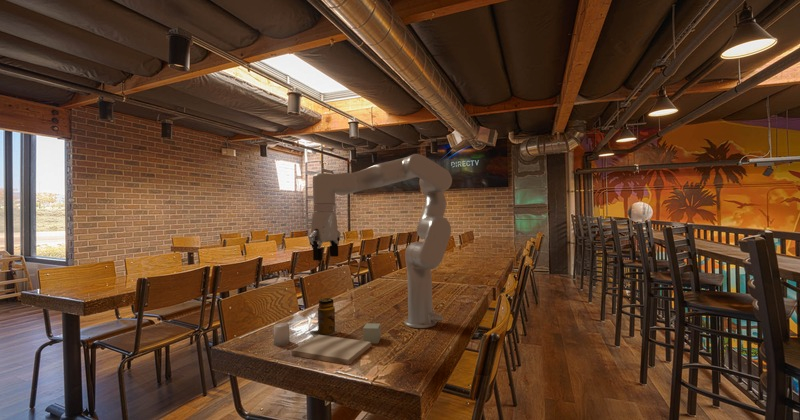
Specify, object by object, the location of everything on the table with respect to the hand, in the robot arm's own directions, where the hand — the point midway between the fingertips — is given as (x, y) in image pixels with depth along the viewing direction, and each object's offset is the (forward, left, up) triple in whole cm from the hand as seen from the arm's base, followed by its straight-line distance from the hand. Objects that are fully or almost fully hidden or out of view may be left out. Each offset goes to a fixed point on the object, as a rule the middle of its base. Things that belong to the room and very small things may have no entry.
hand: (326, 258), depth 116 cm
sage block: (-15, -4, -28) cm, 32 cm away
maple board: (-7, +8, -28) cm, 30 cm away
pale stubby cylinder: (+13, +8, -28) cm, 32 cm away
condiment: (+5, -5, -28) cm, 29 cm away
